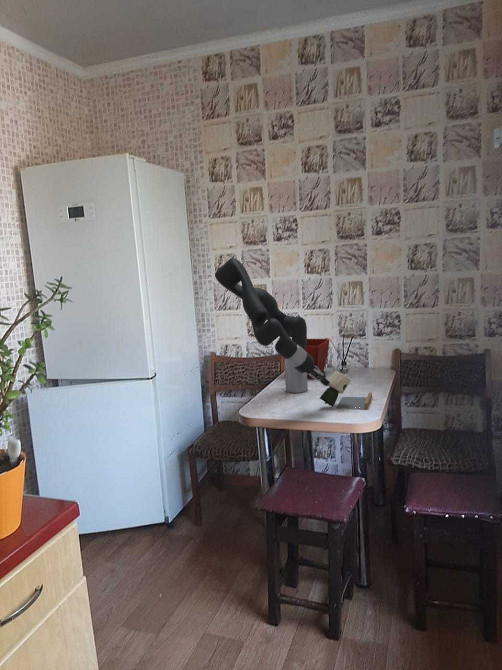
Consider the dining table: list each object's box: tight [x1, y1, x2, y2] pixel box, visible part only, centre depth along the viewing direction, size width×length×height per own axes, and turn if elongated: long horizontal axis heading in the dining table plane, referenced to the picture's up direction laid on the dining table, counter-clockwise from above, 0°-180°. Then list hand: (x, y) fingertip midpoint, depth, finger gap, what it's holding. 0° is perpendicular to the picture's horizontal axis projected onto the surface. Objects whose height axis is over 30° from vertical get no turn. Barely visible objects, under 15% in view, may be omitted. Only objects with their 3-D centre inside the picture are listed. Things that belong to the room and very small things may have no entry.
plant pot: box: [306, 338, 330, 379], centre depth 267 cm, size 19×19×17 cm
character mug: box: [319, 370, 351, 408], centre depth 210 cm, size 11×7×13 cm
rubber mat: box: [335, 391, 373, 410], centre depth 214 cm, size 12×16×2 cm
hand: (327, 384), depth 208 cm, fingers closed
